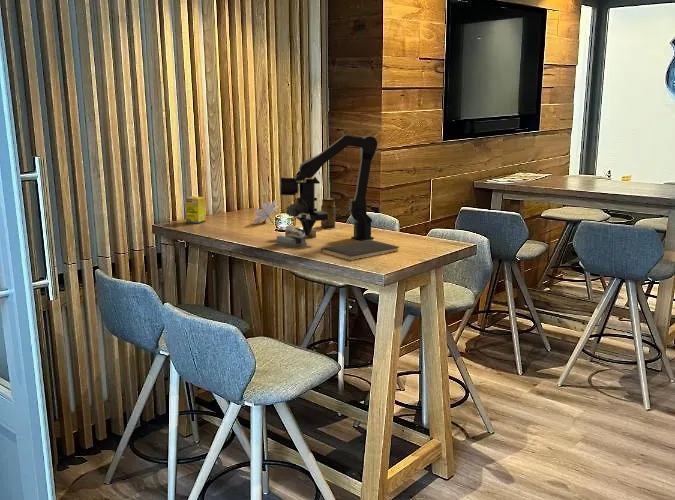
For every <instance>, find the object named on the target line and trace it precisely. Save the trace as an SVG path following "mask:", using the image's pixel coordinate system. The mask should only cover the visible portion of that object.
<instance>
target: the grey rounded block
mask: <svg viewBox="0 0 675 500" xmlns="http://www.w3.org/2000/svg"><path fill="white" fill-rule="evenodd" d="M287 234H293V235H297V236H299V232H295V231H291V230H286V231H285V230H284V235H285V237H287ZM306 238H311V239H314V238H317V229H314V228H312V230H311V232H310V234H309V235H308V236H307V237H306Z"/></svg>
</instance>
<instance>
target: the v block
mask: <svg viewBox="0 0 675 500" xmlns="http://www.w3.org/2000/svg"><path fill="white" fill-rule="evenodd" d="M274 244H275V245H279V246H282V247H285V248H289V249H292V248H297V247H303V245H304V246H307V245H308V243H307V242H306V238H304V237H301V236H297V235H293V234H287V237H285V236H284V235H277V236H276V240H275V241H274Z"/></svg>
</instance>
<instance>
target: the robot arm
mask: <svg viewBox="0 0 675 500" xmlns="http://www.w3.org/2000/svg"><path fill="white" fill-rule="evenodd" d="M349 146H350V147H356V148H359V157H360V161H359V168H358V173H357V174H358V175H357V181H356V186H355V187H356V188H355V195H354V197H353V198H349V206H348V207H347V209H348V212H349V215H350V216H351V217H352V218H353V220H354V221H353V222H354V224H353V236H351V239H354V240H358V241H365V240H373V239H375V236H372V222H373V219H372V217H370V216H369V215H368V214H367V213H368V211H367V208H368V207H367V198H366V197H367V191H368V183H369V179H370V171H371V170H370V169H371V166H372V161H373V158H374V156H375V154H376V151H377V148H378V140H377V138H375V137H374V136H371V135H364V136H357V135H349V134H343V135H342V136H341V137H340V138H339V139H337V140H335V142H333V143H332V144H330V145H329V146H328V147H326V148H325V149H324V150H323V151H321V152H320V153H319V154H318V155H316V156H314V157H311V158H309V159H307V160H304V161H302V162H301V163H300V165H299V167H298V169H299V170H298V171H297V173H296V174H295V175H294V177H286V176H282V177H280V184H279V195H280V196H296V194H297V193H299V197H297V198H296V202H294V203H292V204H290V205H289V206H287V207H286V215H287V216H289V217H294V218H295V219H297V220H298V221H299V222H300V223H301V225H302V229H304V232H305V235H306V236H308V235H309V234H310V232H311V230H312V229H313V227H314V225H315V224H316V222H318V221H319V222H321V220H327V219H328V213H327V212H324V211H321V210H318V209H317V208H315V206H316V205H315V202H317V201H318V198H317V197H315V196H316V195H315V193H316V192H315V191H316V190H315V185H317V184H320V183H321V182H320V181H319V180H318V179H317V177H316V176H315V175H316V174H317V173H318V172H319V171H320V169H321V168H322V166H324V164H325V163H327V162H329V160H331V159H332V158H334V157H335V156H336V155H338V154H339V153H341V152H342V151H343V150H344V149H346V148H347V147H349ZM312 177H313V178H312Z"/></svg>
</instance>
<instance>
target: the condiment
mask: <svg viewBox="0 0 675 500" xmlns="http://www.w3.org/2000/svg"><path fill="white" fill-rule="evenodd" d="M335 200H336V199H335V198H332V197H325V198H322V200H321V203H322V204H321V207H320V211H324V212H327V213H328V219H327V220H320V225H317V227H318V228H322V229H327V230H333V229H340V228H343V226H339V225H336V209H337V207H336V205H335V204H336V203H335V202H336V201H335Z"/></svg>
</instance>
